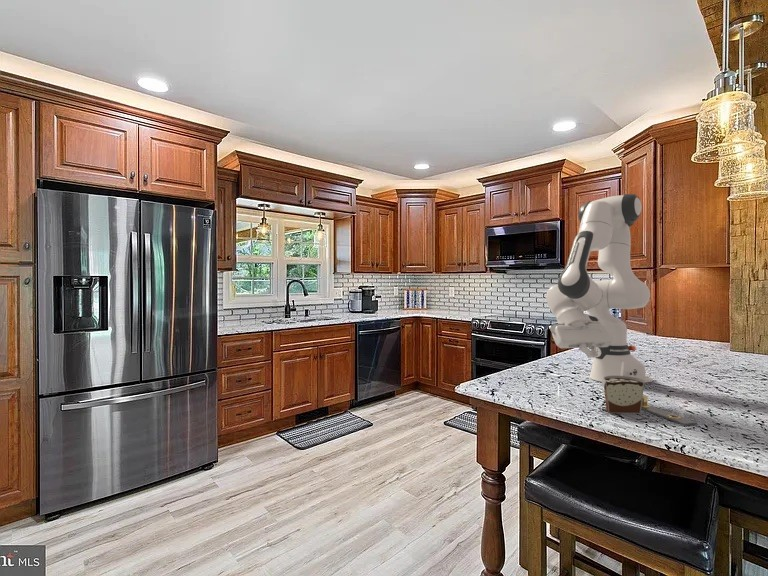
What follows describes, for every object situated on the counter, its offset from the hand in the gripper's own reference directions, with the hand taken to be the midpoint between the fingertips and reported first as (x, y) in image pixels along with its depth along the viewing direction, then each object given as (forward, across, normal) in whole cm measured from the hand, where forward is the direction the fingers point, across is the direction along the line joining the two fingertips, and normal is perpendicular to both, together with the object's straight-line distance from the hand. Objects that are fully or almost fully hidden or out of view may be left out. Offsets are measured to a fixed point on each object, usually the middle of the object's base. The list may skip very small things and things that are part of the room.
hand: (593, 356), depth 132 cm
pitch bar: (+21, +10, 0) cm, 23 cm away
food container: (+18, +1, +3) cm, 18 cm away
